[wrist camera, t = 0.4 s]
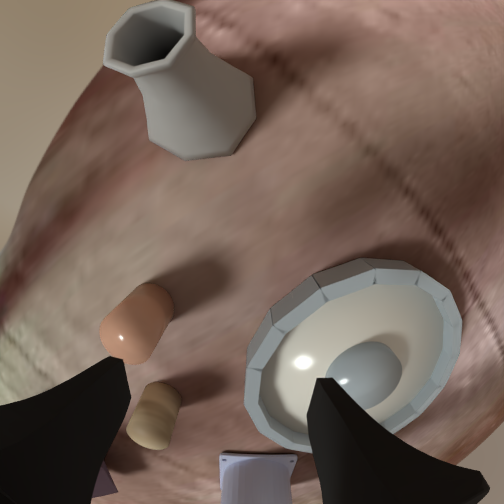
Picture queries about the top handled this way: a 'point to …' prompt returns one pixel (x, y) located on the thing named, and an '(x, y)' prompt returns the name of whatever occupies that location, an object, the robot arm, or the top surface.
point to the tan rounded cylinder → (155, 416)
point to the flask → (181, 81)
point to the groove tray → (353, 347)
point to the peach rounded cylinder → (137, 323)
